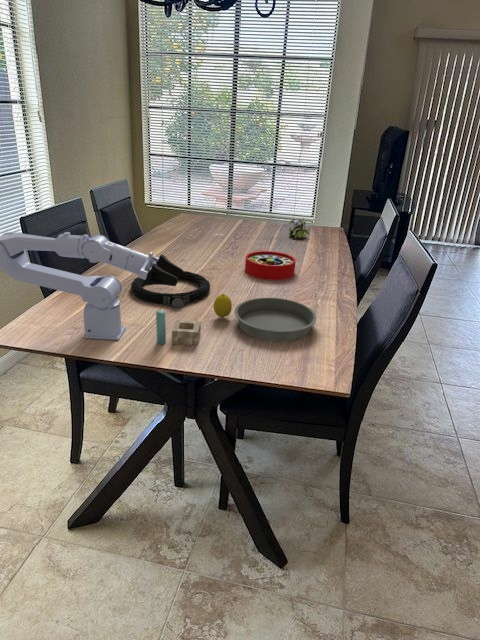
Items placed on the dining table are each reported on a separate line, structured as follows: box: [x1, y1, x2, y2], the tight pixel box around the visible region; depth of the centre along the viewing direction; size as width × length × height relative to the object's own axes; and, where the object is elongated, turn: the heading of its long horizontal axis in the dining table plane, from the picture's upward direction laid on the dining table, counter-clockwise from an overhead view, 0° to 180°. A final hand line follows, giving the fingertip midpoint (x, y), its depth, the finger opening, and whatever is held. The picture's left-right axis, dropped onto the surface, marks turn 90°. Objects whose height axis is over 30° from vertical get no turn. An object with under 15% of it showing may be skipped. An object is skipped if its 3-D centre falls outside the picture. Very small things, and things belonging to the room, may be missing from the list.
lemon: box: [213, 293, 233, 319], centre depth 141 cm, size 6×6×8 cm
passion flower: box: [288, 218, 310, 240], centre depth 239 cm, size 11×11×12 cm
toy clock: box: [244, 250, 297, 281], centre depth 186 cm, size 20×6×20 cm
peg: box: [155, 310, 167, 345], centre depth 124 cm, size 2×2×9 cm
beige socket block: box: [171, 319, 202, 346], centre depth 128 cm, size 7×7×4 cm
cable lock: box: [130, 270, 211, 309], centre depth 161 cm, size 28×4×30 cm
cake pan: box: [234, 297, 317, 342], centre depth 139 cm, size 25×25×4 cm
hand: (179, 278), depth 121 cm, fingers open, 7 cm apart
